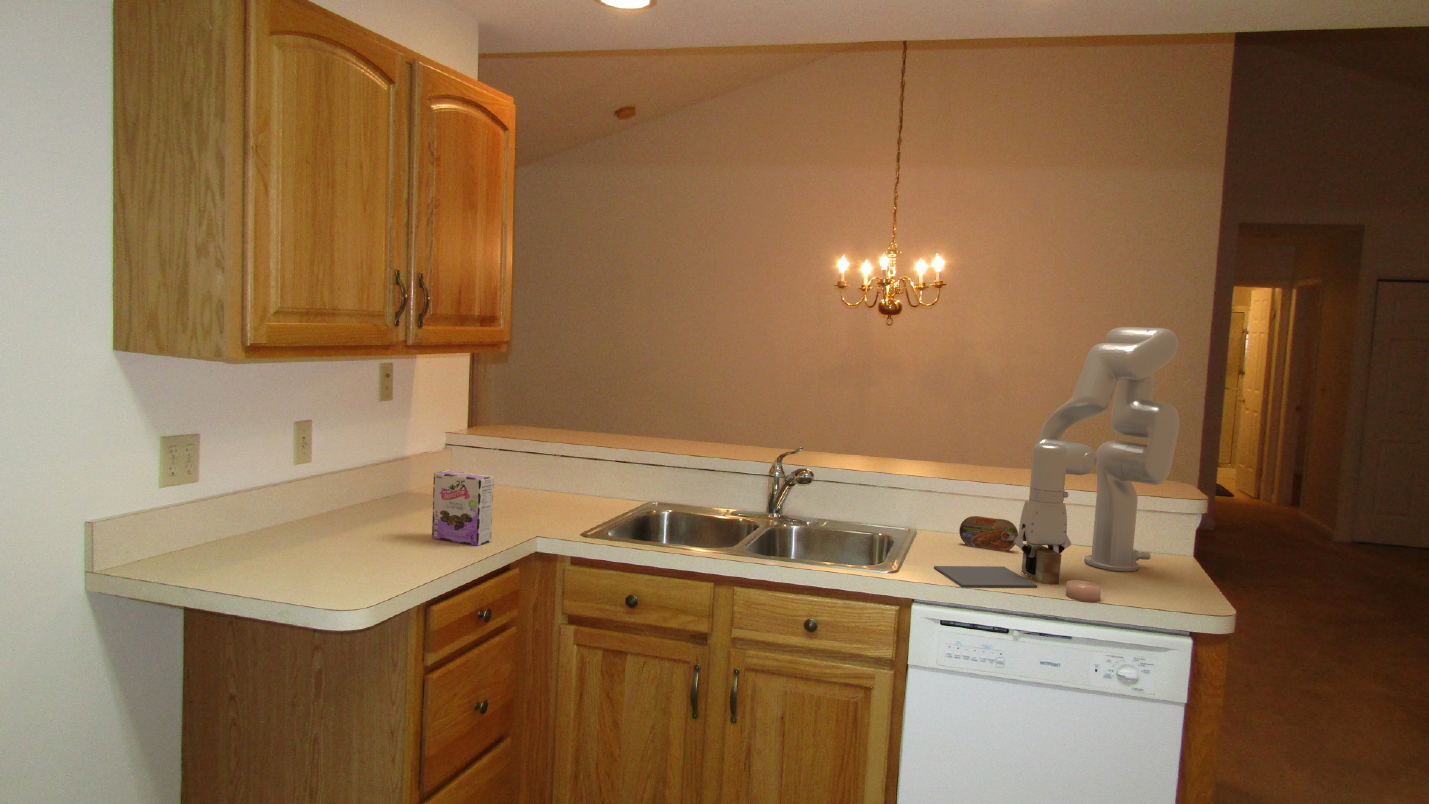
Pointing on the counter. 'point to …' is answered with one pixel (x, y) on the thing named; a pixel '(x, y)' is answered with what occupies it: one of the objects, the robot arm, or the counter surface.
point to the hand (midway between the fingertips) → (1040, 572)
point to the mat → (984, 577)
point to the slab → (1045, 565)
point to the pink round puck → (1083, 591)
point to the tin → (988, 533)
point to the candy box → (462, 507)
